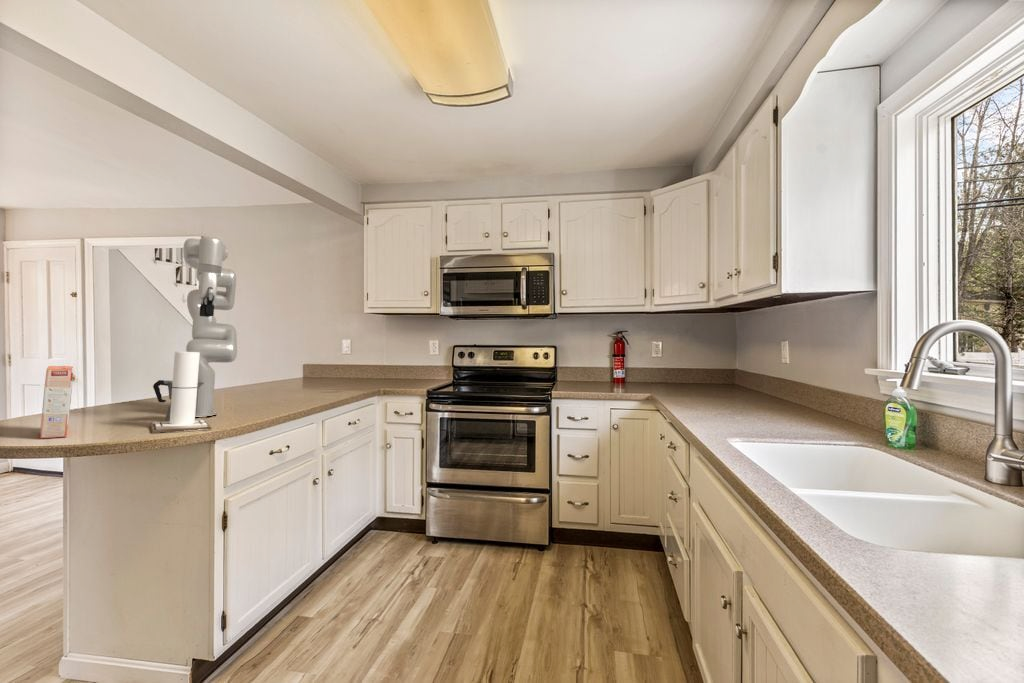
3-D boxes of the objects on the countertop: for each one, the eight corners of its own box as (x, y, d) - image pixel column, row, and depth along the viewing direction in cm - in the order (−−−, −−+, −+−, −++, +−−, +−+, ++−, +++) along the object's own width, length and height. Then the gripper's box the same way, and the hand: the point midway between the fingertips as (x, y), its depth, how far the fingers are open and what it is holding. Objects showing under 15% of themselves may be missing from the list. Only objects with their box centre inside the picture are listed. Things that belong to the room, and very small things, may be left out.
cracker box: (68, 437, 134) (73, 368, 135) (39, 439, 130) (44, 367, 131) (68, 430, 145) (73, 365, 145) (41, 431, 140) (47, 365, 141)
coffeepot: (200, 418, 177) (203, 373, 178) (202, 422, 170) (205, 375, 170) (150, 420, 167) (153, 372, 168) (150, 424, 160) (154, 374, 161)
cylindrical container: (169, 425, 152) (174, 351, 153) (169, 421, 158) (175, 351, 159) (194, 424, 156) (199, 352, 157) (194, 420, 162) (199, 352, 163)
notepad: (150, 426, 157) (150, 421, 157) (205, 423, 167) (205, 418, 167) (152, 433, 146) (152, 427, 146) (210, 430, 157) (211, 424, 157)
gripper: (194, 271, 172) (191, 315, 172) (200, 266, 159) (197, 314, 159) (217, 274, 177) (214, 317, 177) (225, 270, 164) (221, 316, 164)
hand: (206, 316), depth 168 cm, fingers open, 9 cm apart
